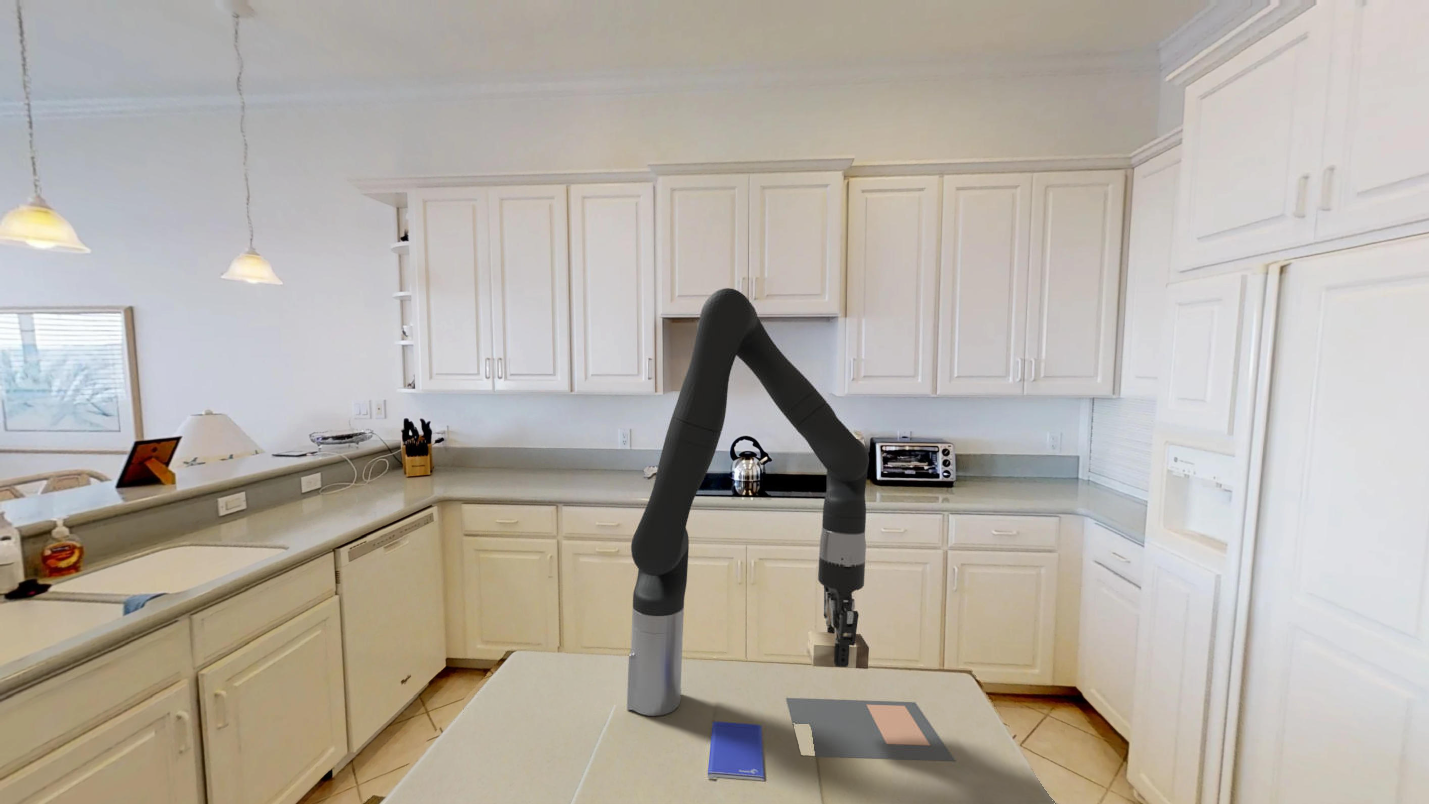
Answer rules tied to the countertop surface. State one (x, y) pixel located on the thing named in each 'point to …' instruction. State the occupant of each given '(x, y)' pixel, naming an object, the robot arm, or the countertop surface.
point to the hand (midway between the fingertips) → (836, 656)
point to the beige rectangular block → (824, 648)
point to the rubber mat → (868, 729)
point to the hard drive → (736, 751)
